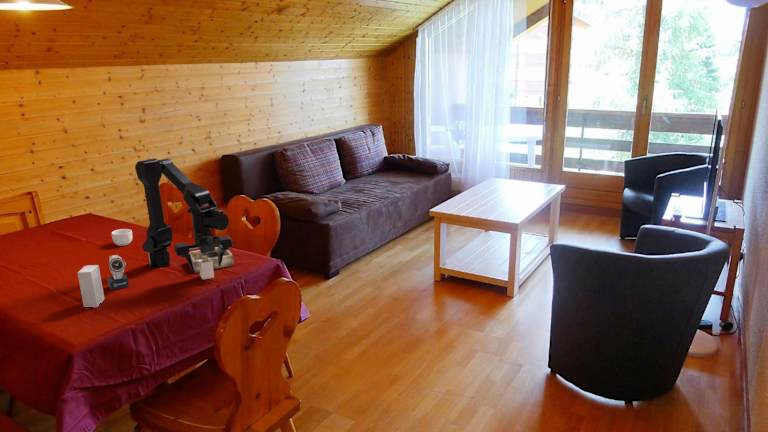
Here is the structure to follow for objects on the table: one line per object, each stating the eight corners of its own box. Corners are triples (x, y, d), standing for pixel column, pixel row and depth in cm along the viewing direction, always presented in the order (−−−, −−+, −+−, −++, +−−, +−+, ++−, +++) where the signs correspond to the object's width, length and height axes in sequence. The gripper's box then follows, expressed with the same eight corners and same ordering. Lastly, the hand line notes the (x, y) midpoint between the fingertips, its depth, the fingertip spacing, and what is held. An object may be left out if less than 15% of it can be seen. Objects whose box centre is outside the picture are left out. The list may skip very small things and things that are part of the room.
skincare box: (91, 300, 181) (85, 265, 177) (104, 299, 181) (99, 264, 178) (83, 308, 175) (76, 272, 171) (97, 307, 175) (91, 271, 172)
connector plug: (202, 279, 196) (200, 259, 194) (200, 275, 199) (197, 255, 197) (214, 277, 198) (212, 257, 196) (211, 273, 201) (209, 253, 199)
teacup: (136, 243, 234) (135, 231, 232) (118, 248, 229) (116, 235, 227) (126, 238, 240) (124, 226, 239) (107, 243, 235) (106, 230, 234)
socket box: (195, 272, 202) (193, 262, 201) (188, 262, 212) (187, 252, 211) (233, 265, 209) (233, 255, 208) (226, 255, 219) (225, 245, 218)
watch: (112, 292, 186) (107, 261, 183) (107, 285, 192) (102, 254, 189) (130, 288, 189) (126, 257, 186) (124, 281, 196) (120, 251, 192)
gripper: (177, 236, 182) (182, 281, 187) (234, 228, 191) (238, 270, 195) (171, 227, 192) (177, 270, 196) (226, 219, 200) (230, 261, 205)
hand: (206, 268), depth 198 cm, fingers open, 9 cm apart
